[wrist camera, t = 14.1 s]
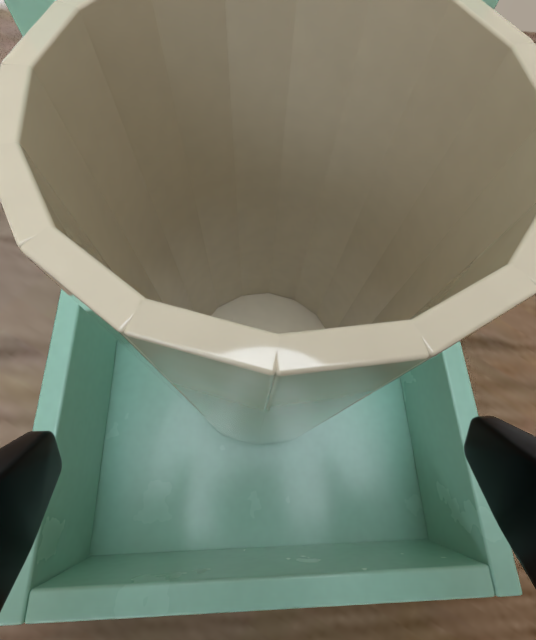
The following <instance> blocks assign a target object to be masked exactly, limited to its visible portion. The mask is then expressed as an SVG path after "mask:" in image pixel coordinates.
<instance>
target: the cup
mask: <svg viewBox="0 0 536 640" xmlns="http://www.w3.org/2000/svg"><path fill="white" fill-rule="evenodd" d="M0 202H1V205H2V207H3V210H4V213H5V215H6V218H7V220H8V223H9V226H10V228H11V231H12V234H13V236H14V239H15V242H16V244H17V246H18V247H19V248H20V249H21V252H22V253H23V254H24V255H25V256H26V257H27V258H29V259H30V260H31V261H32V262H33V263H34V264H35V265H36V266H37V267H38V268H39V269H41V270H42V271H43V272H44V273H45V274H46V275H47V276H48V277H49V278H50V279H51V280H52V281H54V282H55V283H56V284H57V285H58V286H59V287H60V288H61V289H62V290H63V291H64V292H66V293H67V294H68V295H69V296H70V297H71V298H72V299H73V300H74V301H75V302H76V303H77V304H79V305H80V306H81V307H82V308H83V309H84V310H85V311H86V312H87V313H88V314H89V315H91V316H92V317H93V318H94V319H95V320H96V321H97V322H98V323H99V324H100V325H101V326H102V327H104V328H105V329H106V330H107V331H108V332H109V333H110V334H111V335H112V336H113V337H114V338H116V339H117V340H118V341H119V342H120V343H121V344H122V345H123V346H124V347H125V348H126V349H127V350H129V351H130V352H131V353H132V354H133V355H134V356H135V357H136V358H137V359H138V360H139V361H141V362H142V363H143V364H144V365H145V366H146V367H147V368H148V369H149V370H150V371H151V372H152V373H154V374H155V375H156V376H157V377H158V378H159V379H160V380H161V381H162V382H163V383H164V384H166V385H167V386H168V387H169V388H170V389H171V390H172V391H173V392H174V393H175V394H176V395H177V396H179V397H180V398H181V399H182V400H183V401H184V402H185V403H186V404H187V405H188V406H189V407H191V408H192V409H193V410H194V411H195V412H196V413H197V414H198V415H199V416H200V417H202V418H203V419H204V420H205V421H206V422H208V423H209V424H210V425H211V426H212V427H214V428H215V429H216V430H217V431H218V432H220V433H221V434H222V435H224V436H226V437H229V438H232V439H235V440H238V441H241V442H245V443H250V444H253V445H267V444H277V443H281V442H288V441H292V440H294V439H296V438H298V437H299V436H301V435H303V434H305V433H306V432H308V431H310V430H311V429H313V428H315V427H316V426H318V425H320V424H321V423H323V422H325V421H326V420H328V419H330V418H332V417H333V416H335V415H337V414H338V413H340V412H342V411H343V410H345V409H347V408H348V407H350V406H352V405H354V404H355V403H357V402H359V401H360V400H362V399H364V398H365V397H367V396H369V395H370V394H372V393H374V392H375V391H377V390H379V389H381V388H382V387H384V386H386V385H387V384H389V383H391V382H392V381H394V380H396V379H397V378H399V377H401V376H402V375H404V374H406V373H408V372H409V371H411V370H413V369H414V368H416V367H418V366H419V365H421V364H423V363H424V362H426V361H428V360H429V359H431V358H433V357H435V356H436V355H438V354H439V353H441V352H443V351H444V350H446V349H448V348H449V347H451V346H452V345H454V344H456V343H457V342H459V341H461V340H462V339H464V338H465V337H467V336H469V335H470V334H472V333H474V332H475V331H477V330H478V329H480V328H482V327H483V326H485V325H487V324H488V323H490V322H491V321H493V320H495V319H496V318H498V317H500V316H501V315H503V314H504V313H506V312H508V311H509V310H511V309H513V308H514V307H516V306H517V305H519V304H521V303H522V302H524V301H526V300H527V299H529V298H530V297H532V296H534V295H535V294H536V44H535V43H533V40H532V39H530V38H529V37H528V36H527V35H525V34H524V33H523V32H522V31H520V30H519V29H518V28H517V27H515V26H514V25H513V24H511V23H510V22H509V21H508V20H506V19H505V18H504V17H503V16H501V15H500V14H499V13H498V12H496V11H495V10H494V9H493V8H491V7H490V6H489V5H487V4H486V3H485V2H484V1H482V0H57V1H54V2H53V3H52V4H51V5H50V6H49V8H48V9H47V10H46V11H45V12H44V13H43V14H42V16H41V17H40V18H39V19H38V20H37V21H36V23H35V24H34V25H33V26H32V27H31V28H30V30H29V31H28V32H27V33H26V34H25V35H24V36H23V38H22V39H21V40H20V41H19V42H18V43H17V45H16V46H15V47H14V48H13V49H12V50H11V51H10V53H9V54H8V55H7V56H6V57H5V58H4V60H3V61H2V65H0Z"/></svg>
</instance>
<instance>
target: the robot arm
mask: <svg viewBox="0 0 536 640" xmlns="http://www.w3.org/2000/svg"><path fill="white" fill-rule="evenodd" d="M464 454H465V457H466V459H467V461H468V463H469V466H470V468H471V470H472V472H473V474H474V476H475V478H476V480H477V482H478V484H479V487H480V489H481V491H482V493H483V495H484V497H485V499H486V501H487V503H488V505H489V508H490V510H491V512H492V514H493V516H494V518H495V520H496V522H497V524H498V526H499V527H500V529H501V531H502V533H503V534H504V536H505V538H506V540H507V541H508V543H509V545H510V546H511V548H512V550H513V551H514V553H515V555H516V557H517V558H518V560H519V562H520V563H521V565H522V567H523V568H524V570H525V572H526V573H527V575H528V577H529V578H530V580H531V582H532V584H533V585H534V587H535V589H536V437H535V436H533V435H531V434H529V433H527V432H525V431H523V430H521V429H519V428H517V427H515V426H512V425H510V424H508V423H506V422H504V421H502V420H500V419H498V418H496V417H493V416H477V417H474V418H473V419H472V420H471V422H470V425H469V429H468V432H467V436H466V440H465V443H464ZM61 469H62V460H61V456H60V453H59V449H58V446H57V442H56V439H55V436H54V434H53V433H52V432H51V431H31V432H28V433H26V434H24V435H23V436H21V437H19V438H17V439H16V440H14V441H12V442H11V443H9V444H7V445H5V446H4V447H2V448H0V612H1V610H2V608H3V606H4V604H5V602H6V600H7V598H8V596H9V594H10V592H11V590H12V588H13V586H14V583H15V581H16V579H17V577H18V575H19V573H20V571H21V569H22V567H23V565H24V563H25V561H26V559H27V557H28V555H29V553H30V550H31V548H32V546H33V544H34V541H35V539H36V536H37V534H38V531H39V529H40V526H41V523H42V521H43V518H44V515H45V513H46V510H47V507H48V505H49V502H50V500H51V497H52V494H53V492H54V489H55V486H56V484H57V481H58V479H59V476H60V473H61Z"/></svg>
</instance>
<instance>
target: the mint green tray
mask: <svg viewBox="0 0 536 640" xmlns="http://www.w3.org/2000/svg"><path fill="white" fill-rule="evenodd" d="M477 416H478V412H477V408H476V404H475V400H474V396H473V392H472V388H471V384H470V380H469V376H468V372H467V368H466V364H465V360H464V356H463V351H462V347H461V343H460V341H459V342H457V343H456V344H454V345H452V346H451V347H449V348H448V349H446V350H444V351H443V352H441V353H439V354H438V355H436V356H435V357H433V358H431V359H429V360H428V361H426V362H424V363H423V364H421V365H419V366H418V367H416V368H414V369H413V370H411V371H409V372H408V373H406V374H404V375H402V376H401V377H399V378H397V379H396V380H394V381H392V382H391V383H389V384H387V385H386V386H384V387H382V388H381V389H379V390H377V391H375V392H374V393H372V394H370V395H369V396H367V397H365V398H364V399H362V400H360V401H359V402H357V403H355V404H354V405H352V406H350V407H348V408H347V409H345V410H343V411H342V412H340V413H338V414H337V415H335V416H333V417H332V418H330V419H328V420H326V421H325V422H323V423H321V424H320V425H318V426H316V427H315V428H313V429H311V430H310V431H308V432H306V433H305V434H303V435H301V436H299V437H298V438H296V439H294V440H292V441H288V442H281V443H277V444H267V445H253V444H250V443H245V442H241V441H238V440H235V439H232V438H229V437H226V436H224V435H222V434H221V433H220V432H218V431H217V430H216V429H215V428H214V427H212V426H211V425H210V424H209V423H208V422H206V421H205V420H204V419H203V418H202V417H200V416H199V415H198V414H197V413H196V412H195V411H194V410H193V409H192V408H191V407H189V406H188V405H187V404H186V403H185V402H184V401H183V400H182V399H181V398H180V397H179V396H177V395H176V394H175V393H174V392H173V391H172V390H171V389H170V388H169V387H168V386H167V385H166V384H164V383H163V382H162V381H161V380H160V379H159V378H158V377H157V376H156V375H155V374H154V373H152V372H151V371H150V370H149V369H148V368H147V367H146V366H145V365H144V364H143V363H142V362H141V361H139V360H138V359H137V358H136V357H135V356H134V355H133V354H132V353H131V352H130V351H129V350H127V349H126V348H125V347H124V346H123V345H122V344H121V343H120V342H119V341H118V340H117V339H116V338H114V337H113V336H112V335H111V334H110V333H109V332H108V331H107V330H106V329H105V328H104V327H102V326H101V325H100V324H99V323H98V322H97V321H96V320H95V319H94V318H93V317H92V316H91V315H89V314H88V313H87V312H86V311H85V310H84V309H83V308H82V307H81V306H80V305H79V304H77V303H76V302H75V301H74V300H73V299H72V298H71V297H70V296H69V295H68V294H67V293H66V292H64V291H63V290H62V289H61V293H60V298H59V303H58V308H57V313H56V318H55V322H54V327H53V332H52V337H51V342H50V347H49V352H48V357H47V362H46V367H45V372H44V377H43V382H42V387H41V392H40V397H39V402H38V406H37V411H36V416H35V421H34V426H33V431H51V432H52V433H53V434H54V436H55V439H56V442H57V446H58V449H59V453H60V456H61V460H62V469H61V473H60V476H59V479H58V481H57V484H56V486H55V489H54V492H53V494H52V497H51V500H50V502H49V505H48V507H47V510H46V513H45V515H44V518H43V521H42V523H41V526H40V529H39V531H38V534H37V536H36V539H35V541H34V544H33V546H32V548H31V550H30V553H29V555H28V557H27V559H26V561H25V563H24V565H23V567H22V569H21V571H20V573H19V575H18V577H17V579H16V581H15V583H14V586H13V588H12V590H11V592H10V594H9V596H8V598H7V600H6V602H5V604H4V606H3V608H2V610H1V612H0V626H6V625H21V624H23V623H26V624H40V623H57V622H74V621H91V620H108V619H125V618H142V617H159V616H176V615H194V614H211V613H228V612H245V611H262V610H279V609H296V608H313V607H330V606H348V605H365V604H382V603H399V602H416V601H433V600H450V599H467V598H484V597H493V596H498V597H505V596H520V595H522V589H521V585H520V581H519V577H518V573H517V569H516V565H515V561H514V557H513V553H512V549H511V546H510V545H509V543H508V541H507V540H506V538H505V536H504V534H503V533H502V531H501V529H500V527H499V526H498V524H497V522H496V520H495V518H494V516H493V514H492V512H491V510H490V508H489V505H488V503H487V501H486V499H485V497H484V495H483V493H482V491H481V489H480V487H479V484H478V482H477V480H476V478H475V476H474V474H473V472H472V470H471V468H470V466H469V463H468V461H467V459H466V457H465V454H464V443H465V440H466V436H467V432H468V429H469V425H470V422H471V420H472V419H473V418H474V417H477Z"/></svg>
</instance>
